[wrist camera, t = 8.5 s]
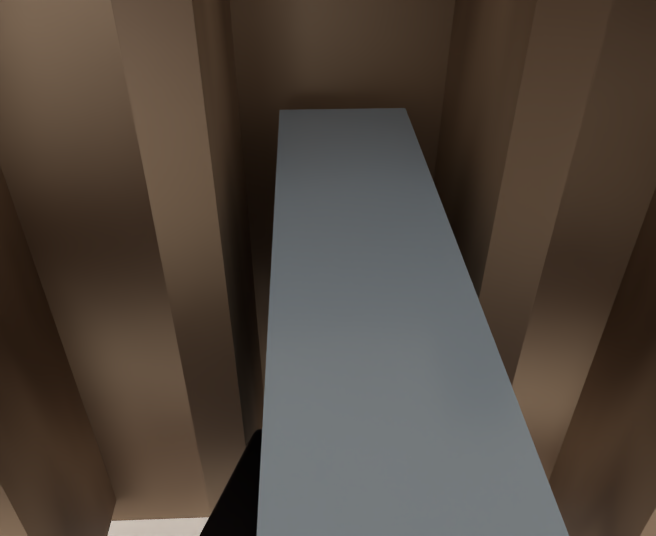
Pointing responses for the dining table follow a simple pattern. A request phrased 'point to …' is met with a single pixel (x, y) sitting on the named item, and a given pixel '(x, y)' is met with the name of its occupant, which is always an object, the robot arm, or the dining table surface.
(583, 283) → the dish rack
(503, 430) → the plate tile
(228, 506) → the robot arm
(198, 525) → the dining table surface
